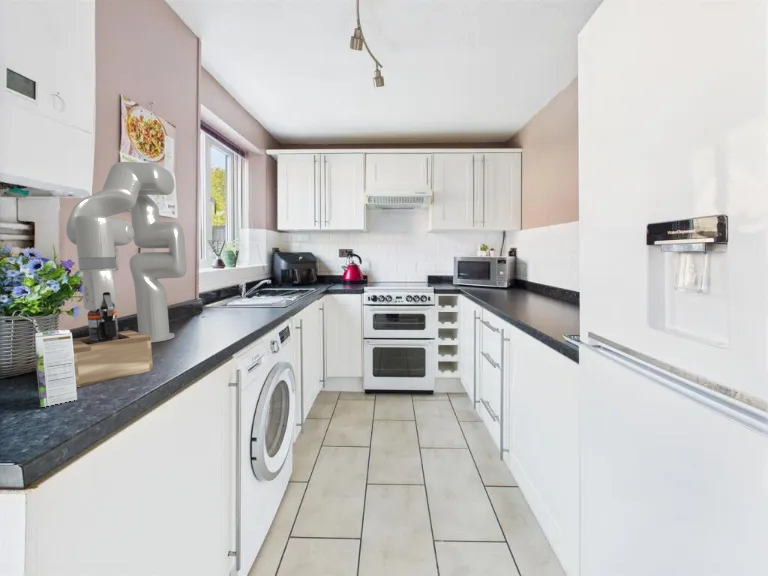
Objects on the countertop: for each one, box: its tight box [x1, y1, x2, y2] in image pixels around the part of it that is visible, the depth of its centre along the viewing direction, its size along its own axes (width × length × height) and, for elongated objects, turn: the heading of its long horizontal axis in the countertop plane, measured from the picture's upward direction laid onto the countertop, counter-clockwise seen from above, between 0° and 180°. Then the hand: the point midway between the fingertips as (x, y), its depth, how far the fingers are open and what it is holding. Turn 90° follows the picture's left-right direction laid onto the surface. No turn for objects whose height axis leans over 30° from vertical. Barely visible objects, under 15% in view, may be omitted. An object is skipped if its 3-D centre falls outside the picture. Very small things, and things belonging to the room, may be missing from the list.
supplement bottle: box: [87, 307, 120, 344], centre depth 95 cm, size 6×6×11 cm
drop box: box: [72, 329, 154, 389], centre depth 95 cm, size 15×16×9 cm
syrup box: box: [34, 329, 78, 408], centre depth 77 cm, size 6×6×14 cm
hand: (104, 335), depth 95 cm, fingers closed on supplement bottle, 6 cm apart
